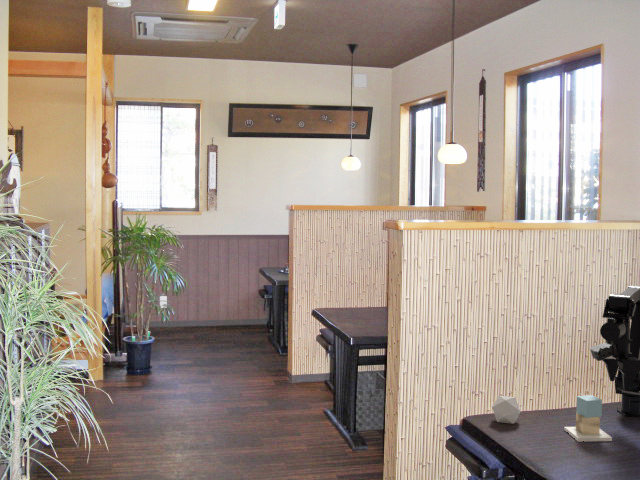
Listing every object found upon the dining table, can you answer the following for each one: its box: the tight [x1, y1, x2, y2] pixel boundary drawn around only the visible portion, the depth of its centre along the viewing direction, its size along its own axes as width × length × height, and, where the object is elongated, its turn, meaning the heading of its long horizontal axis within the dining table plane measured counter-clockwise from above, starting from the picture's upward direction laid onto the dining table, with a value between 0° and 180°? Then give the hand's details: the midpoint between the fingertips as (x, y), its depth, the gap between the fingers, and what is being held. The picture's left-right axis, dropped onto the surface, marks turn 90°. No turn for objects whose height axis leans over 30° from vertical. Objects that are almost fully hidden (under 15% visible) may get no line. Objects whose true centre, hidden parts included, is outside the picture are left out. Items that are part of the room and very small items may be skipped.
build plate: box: [563, 426, 613, 443], centre depth 207 cm, size 10×10×1 cm
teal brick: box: [575, 394, 603, 418], centre depth 207 cm, size 5×5×5 cm
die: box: [491, 395, 522, 424], centre depth 220 cm, size 8×9×10 cm
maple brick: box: [575, 412, 601, 434], centre depth 207 cm, size 5×5×5 cm
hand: (618, 385), depth 216 cm, fingers open, 9 cm apart
